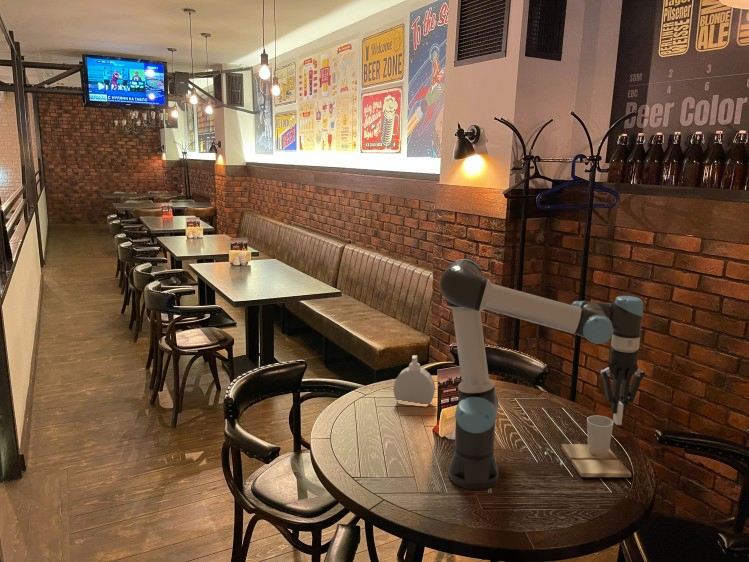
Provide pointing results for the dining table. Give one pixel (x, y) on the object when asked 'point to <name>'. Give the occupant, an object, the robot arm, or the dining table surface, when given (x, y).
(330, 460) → the dining table surface
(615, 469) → the plank
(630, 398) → the robot arm
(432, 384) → the soap bottle
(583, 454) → the tan flat board
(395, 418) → the dining table surface
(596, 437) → the cup
